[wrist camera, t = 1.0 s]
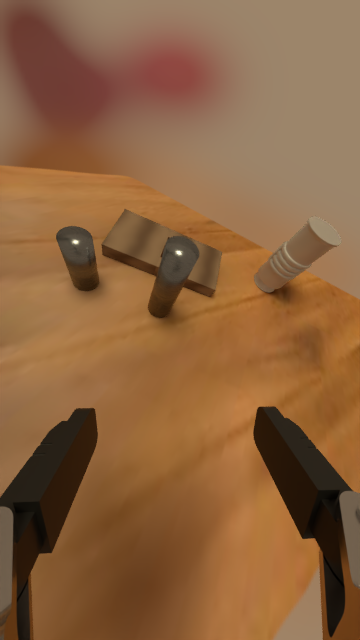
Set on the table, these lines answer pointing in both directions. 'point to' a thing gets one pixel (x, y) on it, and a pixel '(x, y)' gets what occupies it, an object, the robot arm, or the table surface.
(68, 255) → the short pin
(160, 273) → the tall pin
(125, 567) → the table surface
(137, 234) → the hole plate
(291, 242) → the white ribbed cylinder
